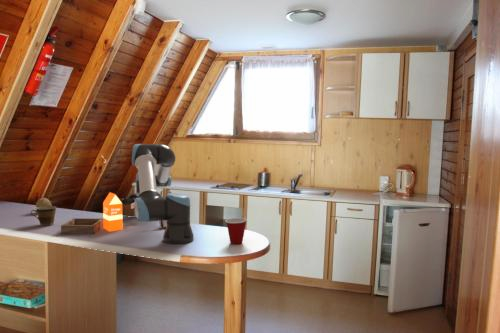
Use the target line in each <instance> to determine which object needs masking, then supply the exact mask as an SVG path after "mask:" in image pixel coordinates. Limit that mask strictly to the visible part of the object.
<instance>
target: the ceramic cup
mask: <svg viewBox="0 0 500 333" xmlns="http://www.w3.org/2000/svg"><path fill="white" fill-rule="evenodd" d="M56 210H57V206H55V205H52V206H42V207H38V208H37V207H36V209H32V210H31V211H30V215H32V216H33V217H35V218H36V219H38V221H39V225H40V227H51V226H53V225H54V222H55V215H56V213H57V212H56ZM32 212H35V213H36V214H37V216H36V215H34V214H33V213H32Z"/></svg>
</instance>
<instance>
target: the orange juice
mask: <svg viewBox="0 0 500 333" xmlns="http://www.w3.org/2000/svg"><path fill="white" fill-rule="evenodd" d="M119 199H120V198H119V197H118V196H117V194H116V193H113V192H109V193H108V195H107V196H106V197H105V199H104V200H103V203H102V215H103V216H102V218H103V224H104V227H103V229H104V230H106V231H107V232H115V231H123V230H124V228H123V227H124V226H123V224H124V223H123V219H124V218H123V204H122V202H121V201H120V200H119Z"/></svg>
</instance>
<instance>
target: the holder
mask: <svg viewBox="0 0 500 333" xmlns="http://www.w3.org/2000/svg"><path fill="white" fill-rule="evenodd" d="M102 229H104V224H103V217H102V218H97V217H96V218H93V217H91V218H90V217H89V218H87V217H86V218H83V217H82V218H80V217H79V218H77V217H75V218H74V217H73V218H72V219H70V220H68V221H66V222H65V223H63V224H61V225H60V233H61V235H95V234H96V233H97V232H100V231H101V230H102Z"/></svg>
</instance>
